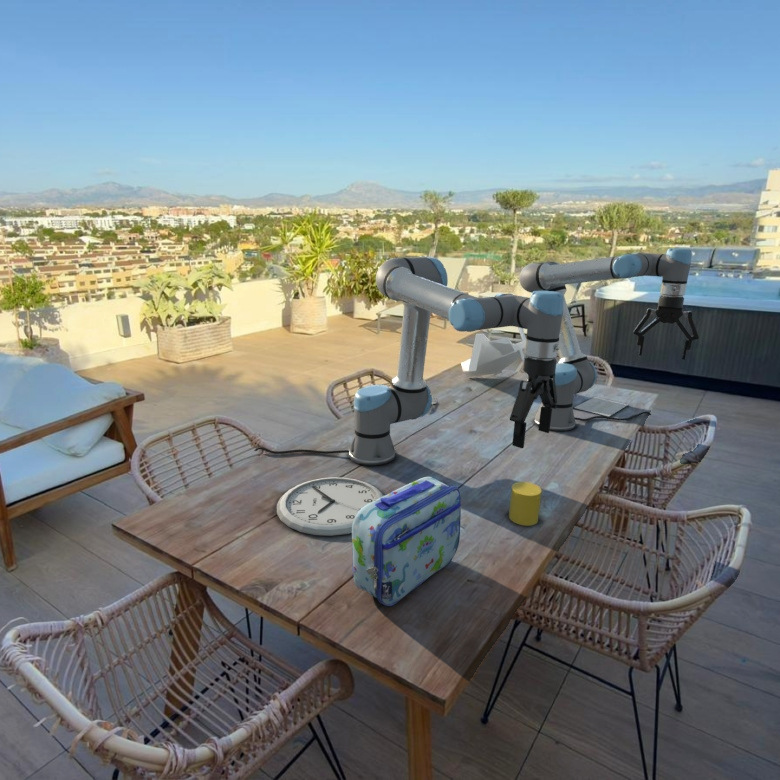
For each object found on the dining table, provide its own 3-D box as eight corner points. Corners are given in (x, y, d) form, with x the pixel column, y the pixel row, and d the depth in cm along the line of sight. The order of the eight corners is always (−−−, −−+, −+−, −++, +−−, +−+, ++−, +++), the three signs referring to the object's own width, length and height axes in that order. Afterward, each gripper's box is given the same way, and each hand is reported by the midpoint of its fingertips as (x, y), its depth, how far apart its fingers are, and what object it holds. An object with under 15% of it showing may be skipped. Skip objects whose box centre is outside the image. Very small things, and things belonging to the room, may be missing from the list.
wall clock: (392, 527, 129) (268, 531, 127) (391, 533, 130) (269, 537, 127) (383, 473, 158) (282, 475, 155) (383, 478, 158) (282, 480, 156)
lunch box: (381, 619, 101) (382, 525, 95) (345, 592, 109) (344, 503, 102) (464, 563, 119) (469, 480, 113) (428, 543, 126) (432, 464, 120)
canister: (523, 528, 133) (526, 498, 131) (503, 515, 139) (505, 485, 137) (544, 520, 137) (547, 491, 134) (523, 508, 143) (526, 479, 141)
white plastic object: (482, 418, 266) (461, 395, 241) (463, 346, 288) (443, 318, 264) (553, 394, 254) (538, 368, 229) (528, 321, 276) (512, 289, 251)
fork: (422, 411, 216) (422, 407, 215) (433, 400, 230) (433, 396, 230) (428, 412, 215) (429, 407, 215) (438, 401, 230) (439, 396, 229)
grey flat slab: (608, 416, 214) (573, 407, 224) (608, 416, 214) (573, 408, 224) (628, 404, 229) (594, 396, 238) (628, 405, 229) (594, 397, 238)
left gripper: (529, 369, 114) (520, 458, 120) (577, 351, 132) (566, 429, 138) (499, 363, 119) (492, 448, 125) (549, 346, 136) (540, 422, 143)
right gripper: (632, 294, 178) (622, 355, 185) (716, 299, 169) (703, 362, 176) (631, 292, 185) (622, 350, 191) (712, 296, 176) (700, 358, 182)
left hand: (531, 438), depth 132 cm, fingers open, 13 cm apart
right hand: (661, 356), depth 184 cm, fingers open, 13 cm apart
